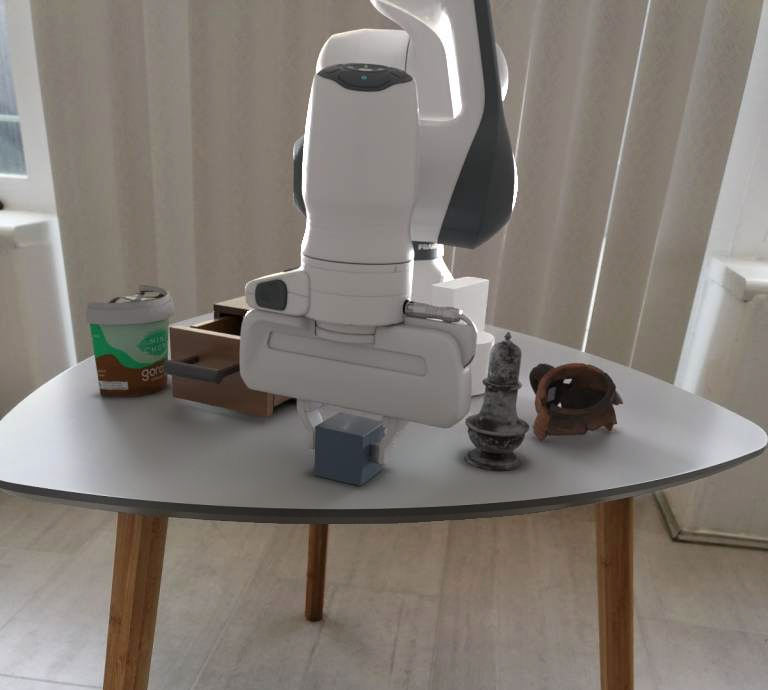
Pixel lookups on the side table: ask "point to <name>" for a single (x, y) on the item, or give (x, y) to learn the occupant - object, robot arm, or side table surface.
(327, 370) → the robot arm
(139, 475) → the side table surface
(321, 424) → the block
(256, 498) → the side table surface
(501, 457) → the salt shaker
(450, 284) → the cylinder with rectangular tab
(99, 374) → the food container
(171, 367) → the drawer
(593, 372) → the pottery mug
